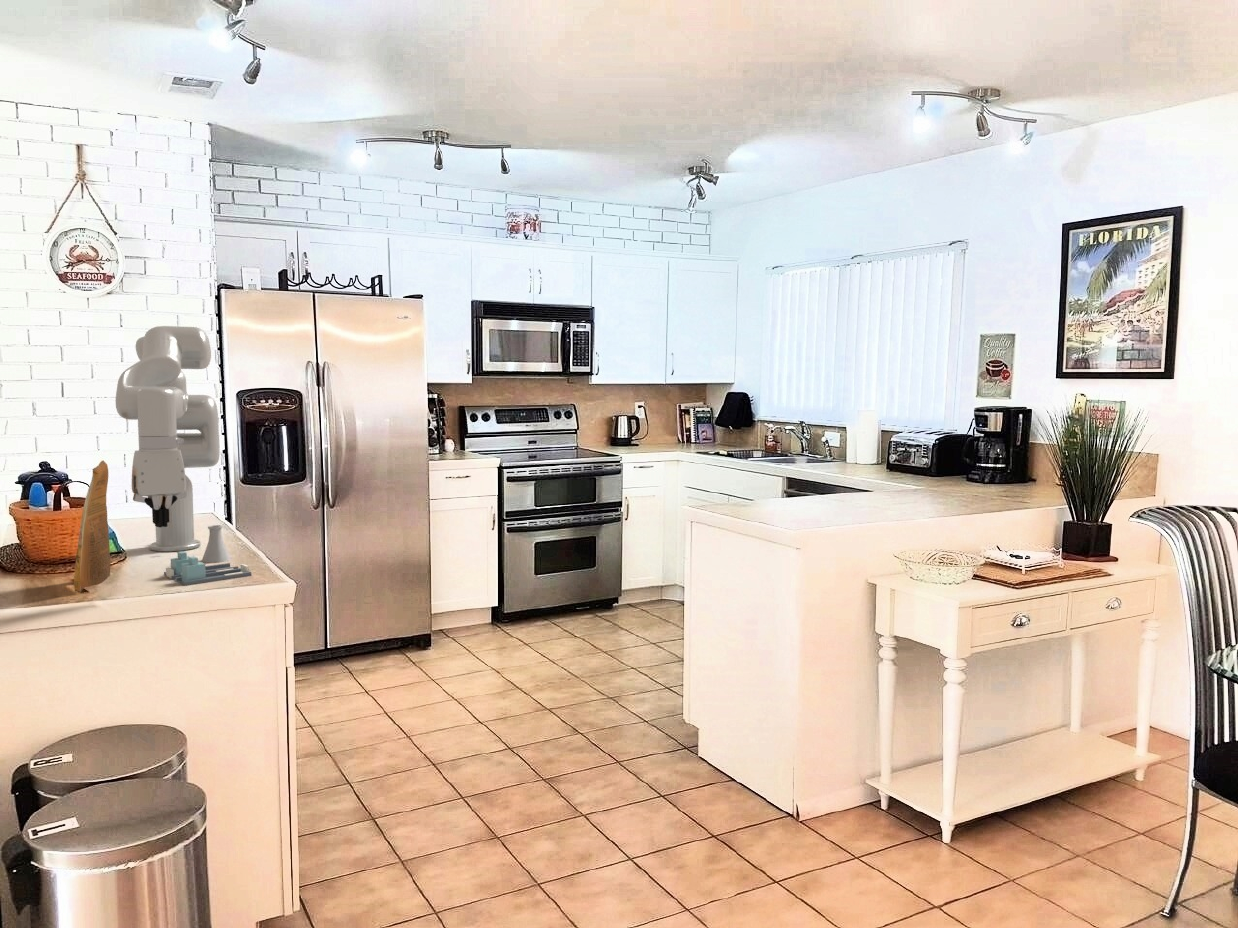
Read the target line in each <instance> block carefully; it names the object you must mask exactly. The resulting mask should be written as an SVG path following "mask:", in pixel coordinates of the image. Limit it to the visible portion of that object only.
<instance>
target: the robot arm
mask: <svg viewBox="0 0 1238 928" xmlns="http://www.w3.org/2000/svg"><path fill="white" fill-rule="evenodd" d="M135 353H136V355H137V357H138V359H139V361H137V362H135V363H134V364H133V365H131V366H129V367H127V369H125V370H124V371H123V372H122V373H121V374H120V376H119V378H118V380H117V384H116V385H117V386H116V391H115V409H116V411H117V414H118V415H119V416H120V417H121V418H123V419H125V420H129V421H130V420H131V421H133V420H134V421H136V420H137V431H138V433H137V434H138V436H137V437H138V450H134V453H133V459H132V468H131V492H132V493H133V495H132V496H133V497H132V500H133V501H134V502H137V503H143V504H146V505H147V506H148V507H149V509H151V513H152V515H151V516H152V523H153V524H154V526H155V542H152V543H150V544H149V549H150V550H152V551H155V552H181V551H186V550H187V551H188V550H192V549H197V548H199V547H201V545H202V544H201V541H200V540H199V539H195V524H194V523H195V522H194V521H195V519H194V495H193V483H192V480H191V479H190V478H189V476H188V475H186V471H185V470H186V469H188V468H189V469H191V468H211V467H214V466H216V465H217V464H218V462H219V460H220V455H221V454H220V430H219V413H218V412H219V411H218V406H217V403H216V401H215V399H214V398H213V397H212V396H210V395H205V394H188V393H187V378H186V375H185V374H184V372H183V371H182V370H203V369H204V370H205V369H206V368H208V367H209V366H210V362H211V359H212V349H211V342H210V339H209V336H208V335H207V333H206V332H205V331H204V330H203V328H200V327H196V326H176V325H175V326H174V325H172V326H171V325H170V326H169V325H161V326H160V325H159V326H158V325H157V326H153V327H151V328H150V329H148V330H147V331H146V333H145V335H144V336H142V337H139V338H138V339H137V340H136V342H135ZM178 430H179V431H181V430H182V431H183V430H184V431H186V430H187V431H189V430H190V431H191V430H192V431H194V430H196V431H199V432H196V433H194V432H193V433H191V432H190V433H189V432H188V433H187V432H186V433H185V432H178Z"/></svg>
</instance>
